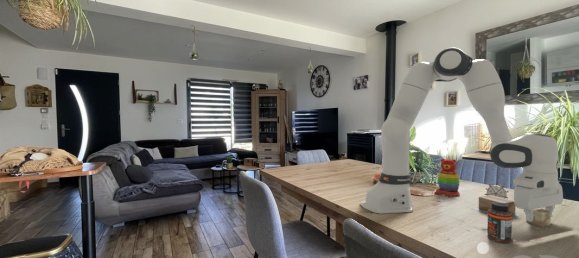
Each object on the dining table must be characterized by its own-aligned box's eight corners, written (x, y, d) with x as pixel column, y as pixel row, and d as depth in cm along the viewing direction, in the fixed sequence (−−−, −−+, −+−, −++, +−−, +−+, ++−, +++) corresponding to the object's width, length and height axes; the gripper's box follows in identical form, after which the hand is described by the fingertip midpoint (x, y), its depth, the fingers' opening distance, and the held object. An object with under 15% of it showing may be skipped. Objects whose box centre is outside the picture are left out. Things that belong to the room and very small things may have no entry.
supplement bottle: (482, 235, 84) (482, 201, 84) (499, 234, 85) (499, 200, 85) (498, 244, 78) (499, 207, 78) (516, 243, 79) (517, 206, 79)
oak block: (542, 230, 88) (542, 212, 88) (526, 225, 92) (526, 208, 92) (550, 228, 90) (550, 211, 89) (534, 223, 94) (534, 207, 94)
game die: (501, 211, 117) (517, 197, 111) (482, 203, 119) (496, 189, 113) (496, 196, 124) (510, 182, 118) (477, 189, 126) (491, 175, 120)
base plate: (502, 222, 95) (502, 218, 95) (470, 211, 107) (470, 208, 107) (524, 217, 99) (524, 214, 99) (491, 207, 111) (491, 205, 110)
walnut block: (502, 216, 98) (503, 203, 97) (478, 208, 106) (478, 196, 106) (515, 214, 100) (515, 201, 100) (490, 206, 108) (490, 195, 108)
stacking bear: (432, 193, 133) (433, 159, 132) (439, 190, 139) (439, 157, 139) (457, 198, 125) (457, 161, 124) (463, 194, 131) (463, 159, 131)
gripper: (546, 175, 97) (546, 212, 97) (509, 180, 90) (509, 219, 91) (569, 178, 91) (569, 217, 91) (531, 184, 84) (531, 226, 85)
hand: (539, 218), depth 91 cm, fingers open, 8 cm apart
